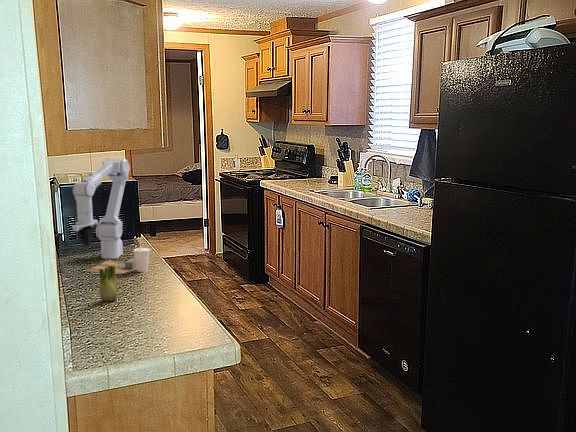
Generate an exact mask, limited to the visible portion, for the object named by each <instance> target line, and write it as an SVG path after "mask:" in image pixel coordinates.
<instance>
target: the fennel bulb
mask: <svg viewBox="0 0 576 432" xmlns="http://www.w3.org/2000/svg"><path fill="white" fill-rule="evenodd" d="M98 273H99V296H100V299H101V301H102V302H113V301H115V300H117V299H118V284H117V281H116V273H115V265H111V266H110V265H107V267H105V272H104V271H103V268H100V269H99V272H98Z"/></svg>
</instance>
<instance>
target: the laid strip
mask: <svg viewBox="0 0 576 432" xmlns="http://www.w3.org/2000/svg"><path fill="white" fill-rule="evenodd" d="M134 269H137V267H136V266H135V267H134V268H133V269H130V268H125V263H123V264H120V265H118V266H116V267H115V275H116V274H118V275H123V274H125V273H127V272H130V271H132V270H134Z"/></svg>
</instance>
